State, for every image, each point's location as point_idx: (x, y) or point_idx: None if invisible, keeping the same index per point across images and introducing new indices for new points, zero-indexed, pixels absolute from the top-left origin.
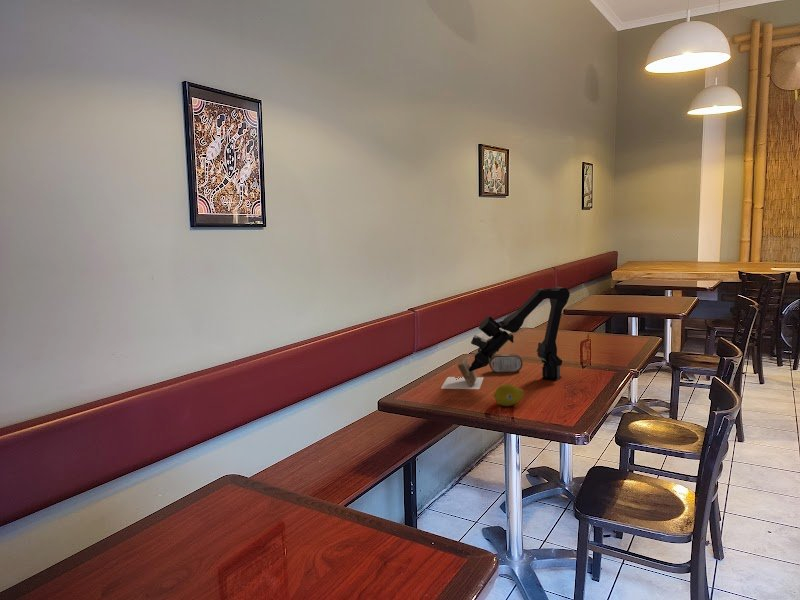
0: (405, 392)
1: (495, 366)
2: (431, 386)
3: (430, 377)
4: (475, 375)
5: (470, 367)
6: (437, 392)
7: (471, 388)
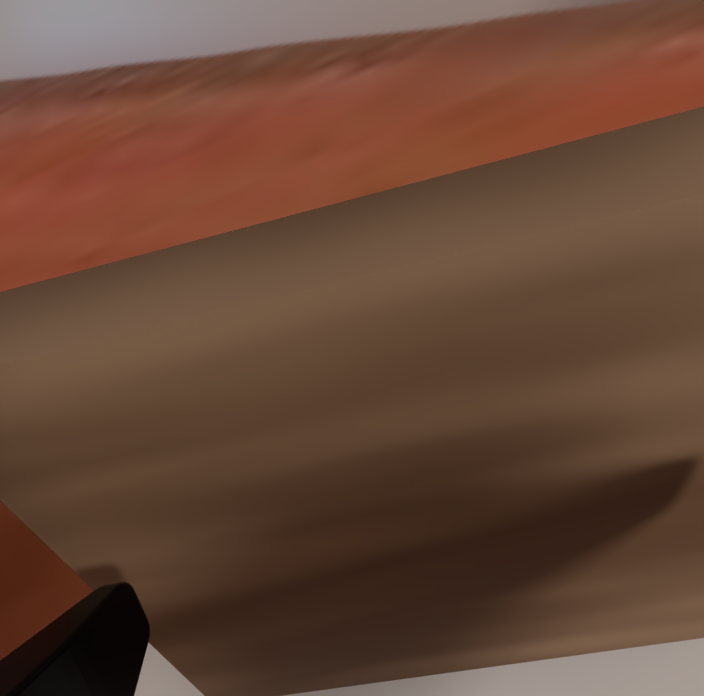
0: (71, 105)
1: None
2: (243, 183)
3: (561, 39)
4: (680, 614)
5: (4, 665)
6: None
7: (148, 675)
